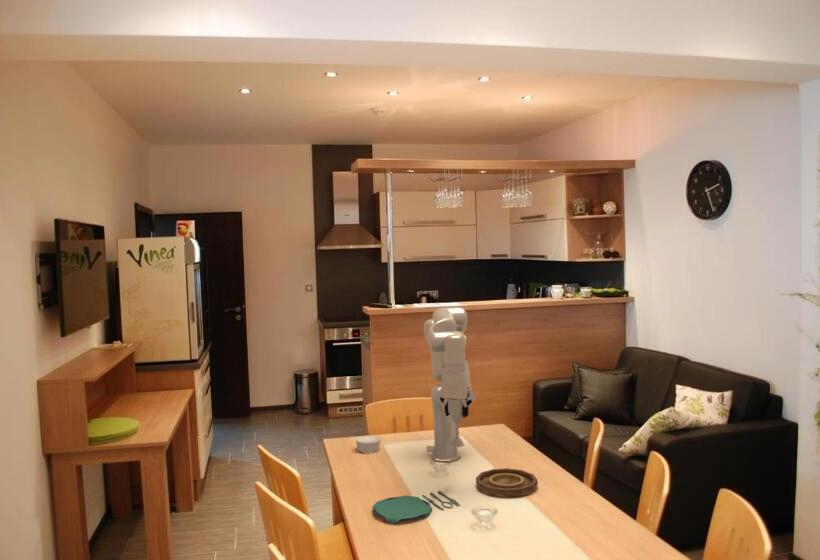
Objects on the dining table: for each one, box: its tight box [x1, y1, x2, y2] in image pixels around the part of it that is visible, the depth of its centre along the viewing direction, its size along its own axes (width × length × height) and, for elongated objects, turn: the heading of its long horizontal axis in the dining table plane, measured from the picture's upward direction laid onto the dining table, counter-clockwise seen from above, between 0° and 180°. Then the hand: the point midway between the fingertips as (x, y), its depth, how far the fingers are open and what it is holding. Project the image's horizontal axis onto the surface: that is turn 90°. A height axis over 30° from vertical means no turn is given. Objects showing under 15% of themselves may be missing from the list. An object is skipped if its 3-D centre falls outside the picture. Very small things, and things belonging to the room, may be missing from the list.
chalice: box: [447, 399, 465, 448], centre depth 237 cm, size 7×7×18 cm
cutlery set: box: [372, 490, 462, 525], centre depth 221 cm, size 20×30×2 cm, turn 117°
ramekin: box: [355, 434, 382, 453], centre depth 288 cm, size 11×11×5 cm
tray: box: [475, 467, 539, 499], centre depth 238 cm, size 22×22×3 cm
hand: (456, 415), depth 237 cm, fingers closed on chalice, 6 cm apart
